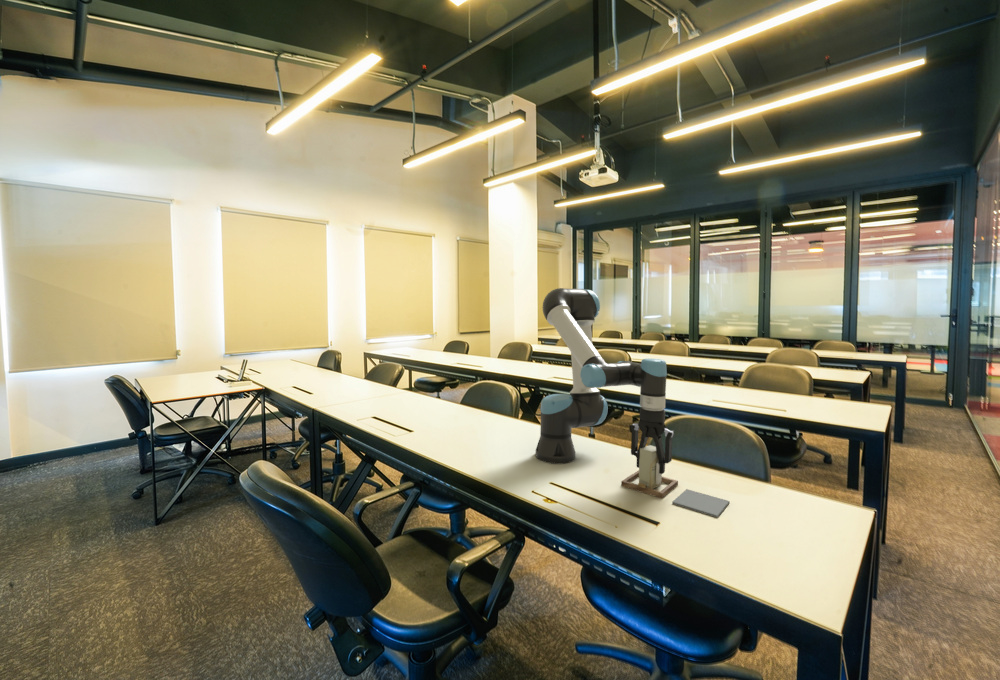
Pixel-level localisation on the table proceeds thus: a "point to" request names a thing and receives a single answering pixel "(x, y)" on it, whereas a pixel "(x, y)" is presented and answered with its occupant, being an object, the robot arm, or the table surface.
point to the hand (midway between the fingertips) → (649, 480)
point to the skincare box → (648, 466)
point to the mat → (701, 503)
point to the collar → (646, 490)
